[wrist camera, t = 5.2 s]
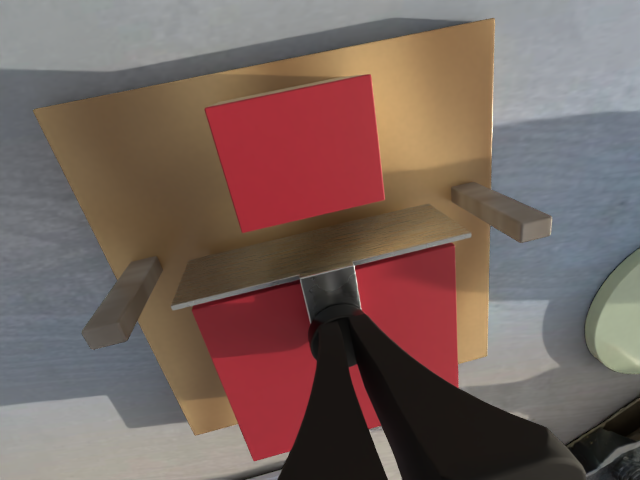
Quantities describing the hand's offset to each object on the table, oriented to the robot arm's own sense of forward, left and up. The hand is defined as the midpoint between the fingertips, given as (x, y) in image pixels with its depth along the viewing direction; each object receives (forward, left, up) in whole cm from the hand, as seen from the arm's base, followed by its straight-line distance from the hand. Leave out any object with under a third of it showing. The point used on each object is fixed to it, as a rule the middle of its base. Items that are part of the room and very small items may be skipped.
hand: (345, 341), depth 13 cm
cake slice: (0, +6, -5) cm, 8 cm away
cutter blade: (0, +1, -5) cm, 5 cm away
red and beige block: (0, -2, -5) cm, 6 cm away
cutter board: (0, 0, -6) cm, 6 cm away
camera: (+21, -22, -6) cm, 31 cm away
